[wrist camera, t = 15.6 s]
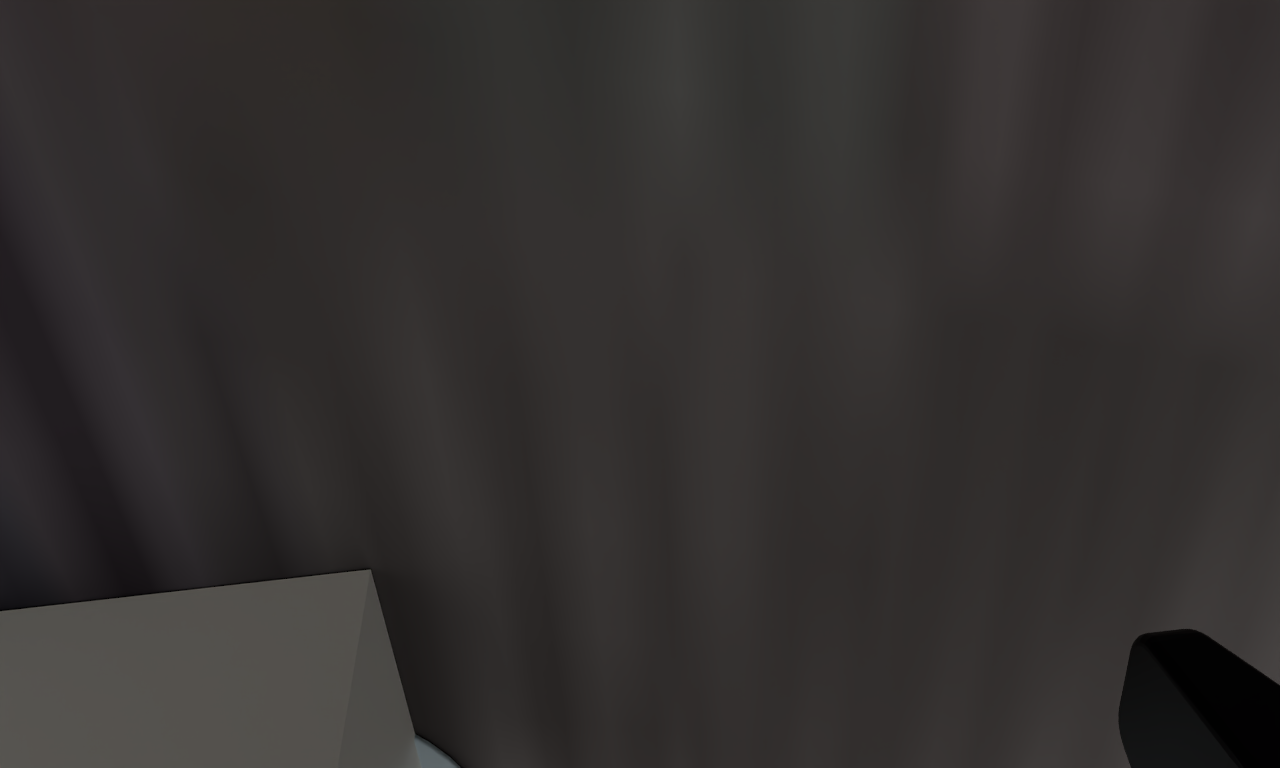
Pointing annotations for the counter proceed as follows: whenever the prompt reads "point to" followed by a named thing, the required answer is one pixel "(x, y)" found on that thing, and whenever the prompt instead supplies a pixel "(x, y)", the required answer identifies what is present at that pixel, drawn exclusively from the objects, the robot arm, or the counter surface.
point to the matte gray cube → (207, 680)
